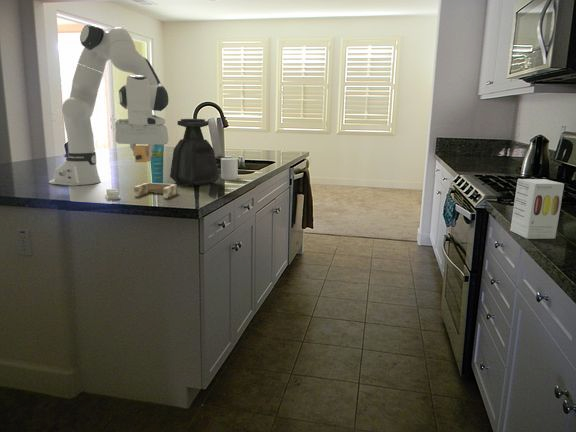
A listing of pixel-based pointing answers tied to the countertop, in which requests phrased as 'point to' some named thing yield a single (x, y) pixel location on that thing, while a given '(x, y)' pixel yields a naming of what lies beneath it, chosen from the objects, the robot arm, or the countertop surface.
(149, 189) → the end holder
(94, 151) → the robot arm
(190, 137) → the dark grey vase
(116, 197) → the guide clip
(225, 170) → the cup
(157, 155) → the tube
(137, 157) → the connector
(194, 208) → the countertop surface
